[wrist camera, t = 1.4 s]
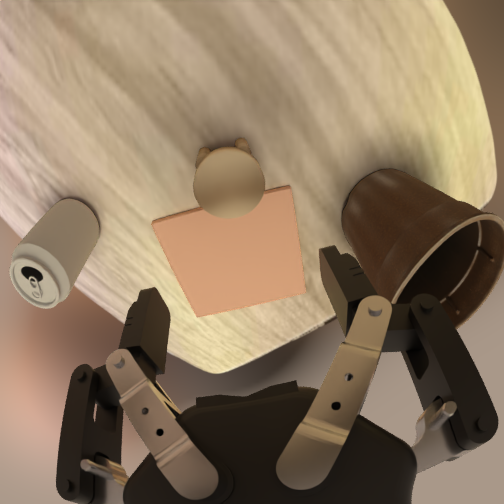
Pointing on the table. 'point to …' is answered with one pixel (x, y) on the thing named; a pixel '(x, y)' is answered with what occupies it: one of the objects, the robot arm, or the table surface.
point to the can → (54, 253)
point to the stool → (228, 180)
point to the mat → (235, 254)
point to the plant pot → (423, 243)
